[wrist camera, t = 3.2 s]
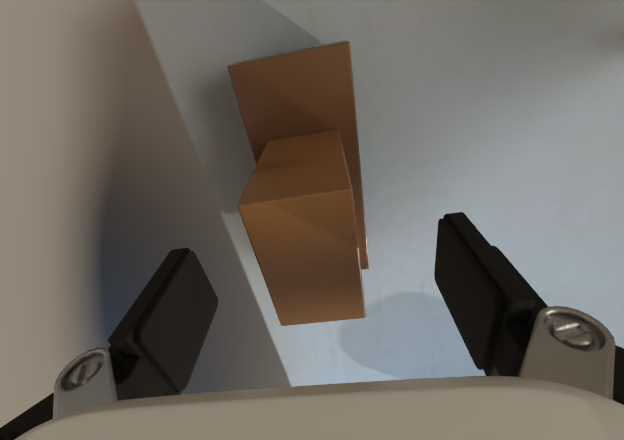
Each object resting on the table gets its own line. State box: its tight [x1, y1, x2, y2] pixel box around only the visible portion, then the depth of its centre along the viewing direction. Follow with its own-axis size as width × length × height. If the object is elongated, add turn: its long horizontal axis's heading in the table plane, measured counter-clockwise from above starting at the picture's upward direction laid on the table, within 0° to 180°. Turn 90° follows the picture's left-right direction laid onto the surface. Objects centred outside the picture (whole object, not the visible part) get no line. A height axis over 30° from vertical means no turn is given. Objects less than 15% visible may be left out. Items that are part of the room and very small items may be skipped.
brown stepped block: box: [228, 41, 369, 326], centre depth 14 cm, size 13×5×10 cm, turn 10°
